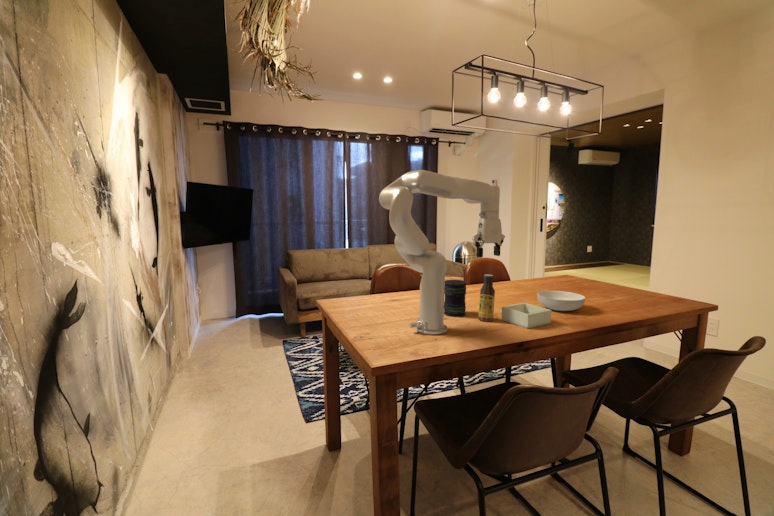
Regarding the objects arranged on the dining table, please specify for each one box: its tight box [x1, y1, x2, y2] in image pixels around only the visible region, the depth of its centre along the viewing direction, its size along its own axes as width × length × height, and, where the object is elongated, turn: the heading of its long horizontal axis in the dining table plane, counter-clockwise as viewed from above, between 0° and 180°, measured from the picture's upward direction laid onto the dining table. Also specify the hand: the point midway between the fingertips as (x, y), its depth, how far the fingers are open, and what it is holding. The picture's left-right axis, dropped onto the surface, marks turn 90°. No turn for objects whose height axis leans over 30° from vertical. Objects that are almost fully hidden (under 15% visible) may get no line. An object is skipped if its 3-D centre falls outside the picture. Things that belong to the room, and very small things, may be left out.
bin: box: [500, 302, 553, 330], centre depth 158 cm, size 14×14×6 cm
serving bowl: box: [536, 290, 586, 312], centre depth 178 cm, size 21×21×7 cm
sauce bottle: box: [478, 273, 496, 322], centre depth 160 cm, size 6×6×20 cm
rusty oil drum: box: [444, 279, 467, 318], centre depth 170 cm, size 10×10×15 cm
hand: (488, 256), depth 158 cm, fingers open, 9 cm apart
